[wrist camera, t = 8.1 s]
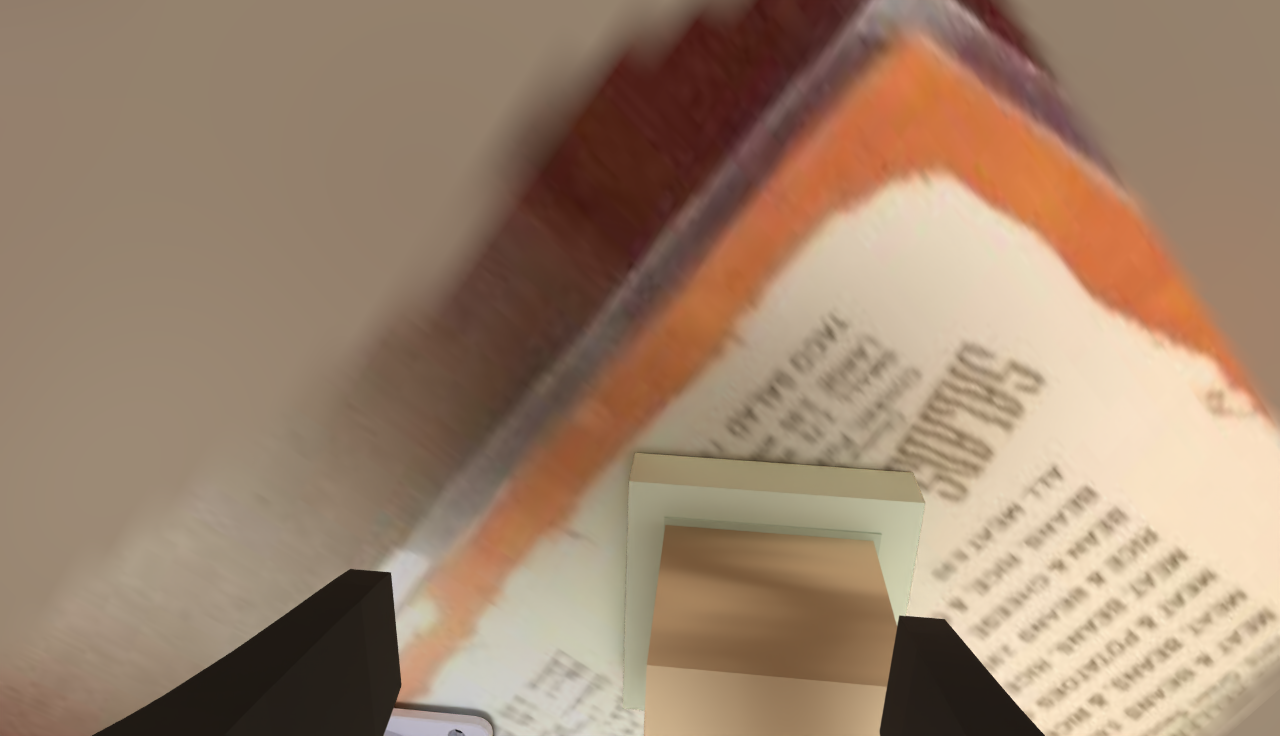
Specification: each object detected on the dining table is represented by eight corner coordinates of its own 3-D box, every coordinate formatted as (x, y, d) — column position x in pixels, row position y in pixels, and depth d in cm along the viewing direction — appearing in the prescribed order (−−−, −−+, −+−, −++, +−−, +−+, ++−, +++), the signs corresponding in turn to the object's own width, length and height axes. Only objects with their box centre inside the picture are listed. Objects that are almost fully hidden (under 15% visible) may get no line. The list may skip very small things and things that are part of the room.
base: (628, 670, 25) (622, 710, 23) (635, 452, 22) (628, 482, 21) (876, 693, 24) (885, 735, 23) (912, 472, 22) (926, 504, 20)
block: (657, 686, 23) (639, 853, 18) (665, 524, 21) (646, 665, 16) (848, 704, 23) (879, 879, 18) (873, 540, 21) (914, 689, 16)
